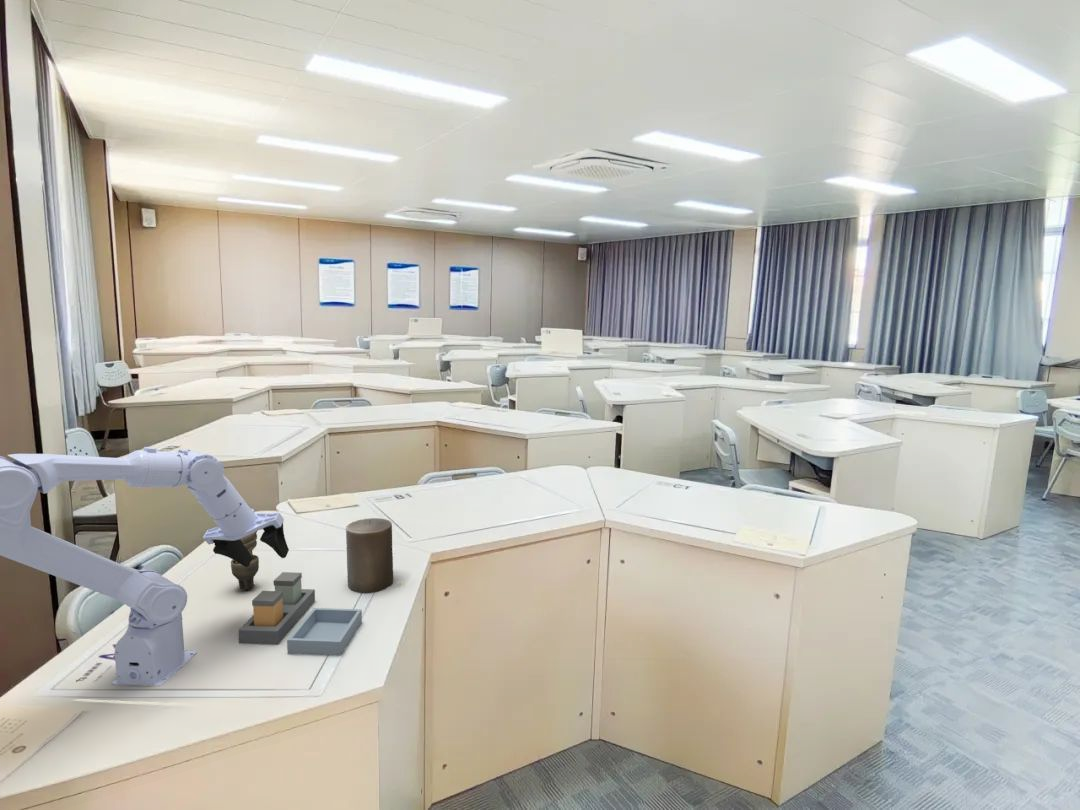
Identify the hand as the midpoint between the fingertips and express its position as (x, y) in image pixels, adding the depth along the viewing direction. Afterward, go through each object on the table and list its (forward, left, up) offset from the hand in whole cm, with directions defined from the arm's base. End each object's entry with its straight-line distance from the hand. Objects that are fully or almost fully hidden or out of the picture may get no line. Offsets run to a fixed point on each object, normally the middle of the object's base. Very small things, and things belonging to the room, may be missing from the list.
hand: (267, 558), depth 110 cm
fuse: (+3, -2, -12) cm, 13 cm away
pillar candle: (+16, -14, -13) cm, 25 cm away
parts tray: (-6, -13, -12) cm, 19 cm away
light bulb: (+11, +11, -13) cm, 20 cm away
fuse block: (-1, -2, -12) cm, 13 cm away
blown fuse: (-5, -2, -12) cm, 13 cm away
